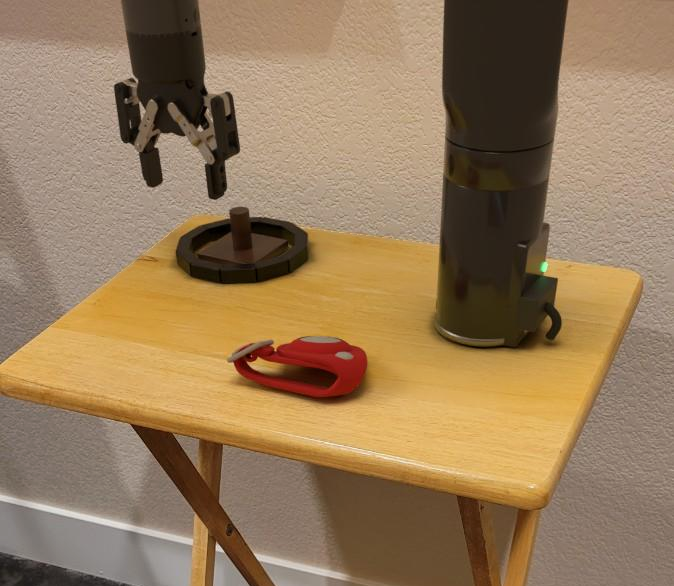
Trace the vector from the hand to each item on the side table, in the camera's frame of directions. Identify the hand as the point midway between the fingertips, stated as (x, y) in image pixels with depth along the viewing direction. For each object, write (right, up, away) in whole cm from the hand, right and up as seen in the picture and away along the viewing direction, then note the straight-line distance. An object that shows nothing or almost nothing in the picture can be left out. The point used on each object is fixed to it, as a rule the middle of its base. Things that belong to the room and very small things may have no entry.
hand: (185, 191), depth 99 cm
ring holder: (+6, -6, +2) cm, 9 cm away
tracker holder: (+14, -25, -18) cm, 34 cm away
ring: (+6, -6, +2) cm, 9 cm away
